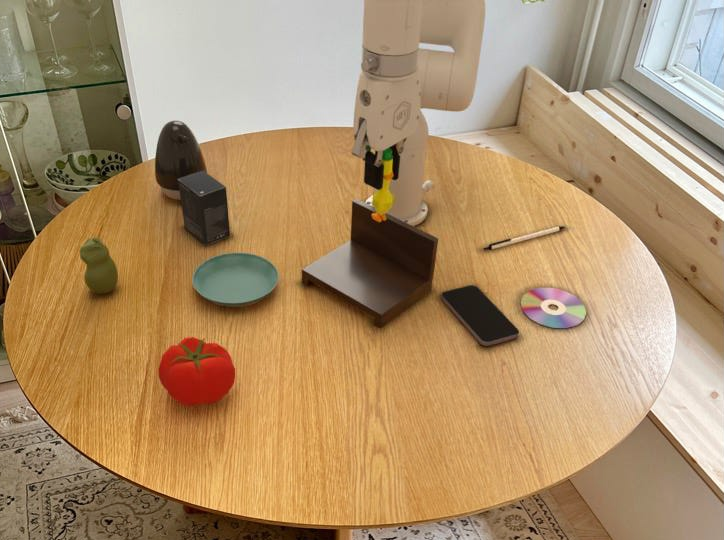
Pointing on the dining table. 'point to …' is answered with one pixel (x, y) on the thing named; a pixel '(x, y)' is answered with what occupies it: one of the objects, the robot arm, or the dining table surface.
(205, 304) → the dining table surface
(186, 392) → the tomato
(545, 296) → the cd
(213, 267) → the saucer
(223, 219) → the box
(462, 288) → the smartphone
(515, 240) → the pen
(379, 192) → the toy figure
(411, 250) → the shelf
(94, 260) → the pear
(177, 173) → the dark brown egg shape
